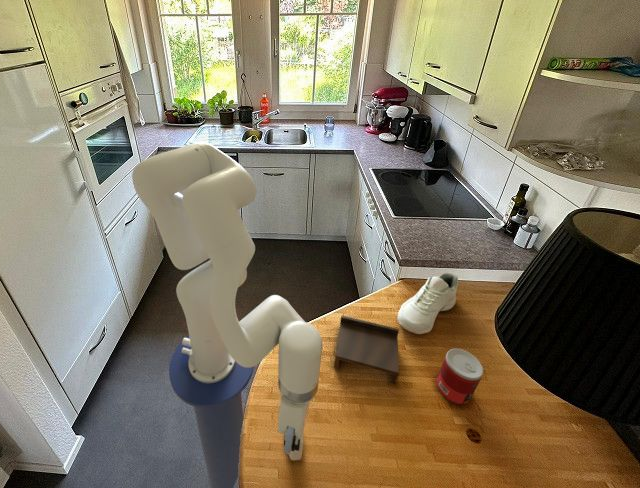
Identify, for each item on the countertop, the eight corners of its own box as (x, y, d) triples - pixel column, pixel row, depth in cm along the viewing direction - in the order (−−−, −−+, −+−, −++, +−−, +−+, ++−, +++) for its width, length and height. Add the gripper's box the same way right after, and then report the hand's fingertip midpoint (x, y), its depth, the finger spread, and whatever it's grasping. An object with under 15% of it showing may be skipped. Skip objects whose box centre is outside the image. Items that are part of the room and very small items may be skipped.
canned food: (469, 411, 78) (483, 385, 73) (434, 394, 82) (444, 368, 76) (470, 384, 84) (483, 357, 79) (437, 369, 87) (447, 343, 82)
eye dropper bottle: (307, 437, 73) (310, 408, 68) (299, 465, 69) (301, 436, 63) (290, 428, 75) (291, 399, 69) (280, 454, 71) (280, 425, 65)
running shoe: (385, 324, 100) (392, 292, 94) (428, 283, 116) (437, 253, 109) (417, 348, 93) (428, 315, 87) (458, 300, 109) (470, 270, 102)
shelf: (333, 367, 88) (336, 350, 85) (339, 331, 98) (341, 315, 95) (395, 384, 84) (400, 368, 81) (394, 345, 94) (398, 328, 91)
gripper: (290, 335, 69) (288, 386, 77) (264, 421, 54) (266, 471, 63) (325, 345, 67) (319, 395, 75) (308, 436, 52) (303, 486, 61)
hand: (295, 429), depth 69 cm, fingers closed on eye dropper bottle, 5 cm apart
